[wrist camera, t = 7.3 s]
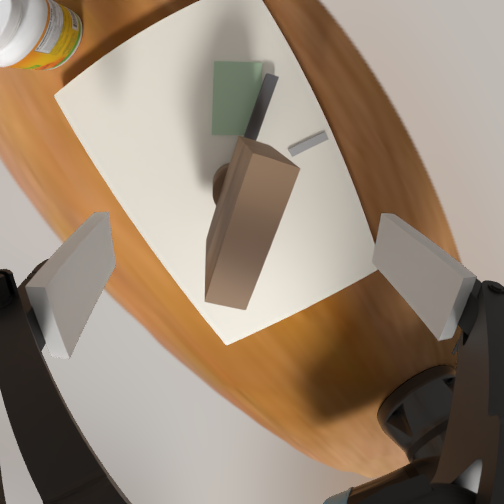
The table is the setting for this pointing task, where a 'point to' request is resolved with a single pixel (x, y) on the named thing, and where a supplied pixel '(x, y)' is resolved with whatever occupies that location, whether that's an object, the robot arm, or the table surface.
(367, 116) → the table surface
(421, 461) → the robot arm
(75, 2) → the table surface
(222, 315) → the dial board
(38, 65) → the supplement bottle
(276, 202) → the brown handled block
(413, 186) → the table surface
